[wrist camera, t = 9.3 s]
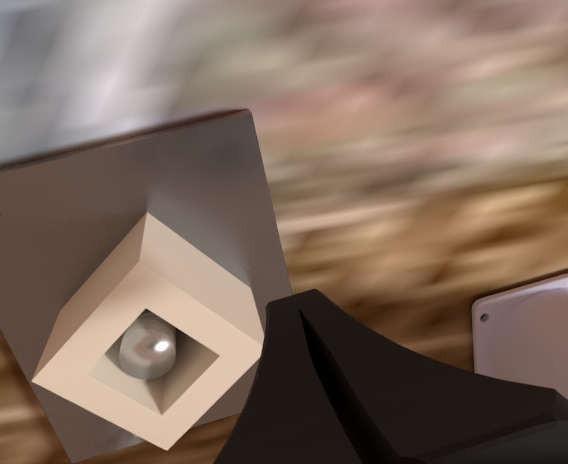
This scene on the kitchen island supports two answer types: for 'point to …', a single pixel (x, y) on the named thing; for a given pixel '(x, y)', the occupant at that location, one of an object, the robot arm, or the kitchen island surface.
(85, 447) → the flat plate
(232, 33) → the kitchen island surface
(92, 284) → the block
